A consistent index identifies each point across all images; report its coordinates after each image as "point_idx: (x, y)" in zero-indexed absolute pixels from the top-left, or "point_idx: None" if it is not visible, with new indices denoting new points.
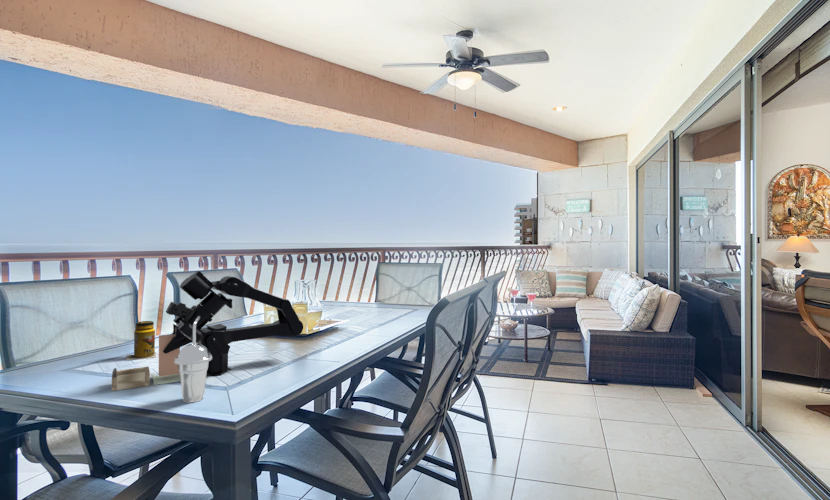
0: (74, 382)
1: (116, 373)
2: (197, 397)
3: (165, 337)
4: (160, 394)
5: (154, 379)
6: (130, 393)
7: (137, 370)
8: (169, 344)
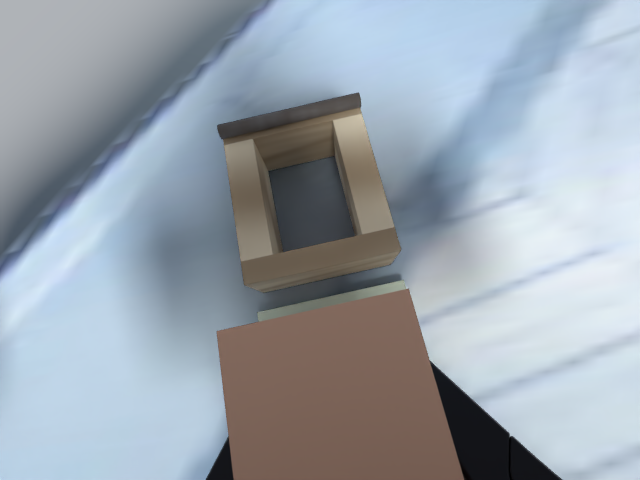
0: (426, 5)
1: (297, 125)
2: None
3: (235, 431)
4: (95, 367)
5: (337, 300)
6: (175, 237)
7: (354, 205)
8: (218, 464)
